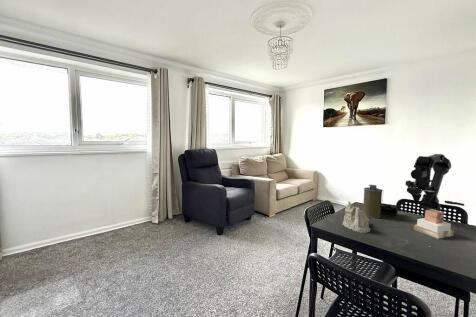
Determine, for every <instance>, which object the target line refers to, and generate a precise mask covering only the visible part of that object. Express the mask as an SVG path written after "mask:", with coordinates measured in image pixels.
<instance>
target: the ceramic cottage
mask: <svg viewBox="0 0 476 317" xmlns="http://www.w3.org/2000/svg"><path fill="white" fill-rule="evenodd" d="M369 222H370V219H369V217H367V216H366V215H365V213H364V211H363V209H362V210H361V209H360V207H356V206H354V205H353V204H352V203H351V200H350V201H348V202H347V204H346V207H345V209H344V216H343V221H342V226H343V225H344V226H345V228H346V227H347V228H346V229H349V230H351V229H352V230H351V231H355V232H356V231H357V232H356V233H361V234H366V233H370V231H371V228H370V227H369V226H370V223H369ZM344 226H343V227H344Z"/></svg>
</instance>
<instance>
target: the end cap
mask: <svg viewBox="0 0 476 317" xmlns="http://www.w3.org/2000/svg"><path fill="white" fill-rule="evenodd" d="M398 212H399V205H397V204H391V203H390V204H389V203H384V202H383V204H382V202H381V213H380V216H386V217H393V218H397V216H398Z"/></svg>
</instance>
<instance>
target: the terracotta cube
mask: <svg viewBox="0 0 476 317" xmlns="http://www.w3.org/2000/svg"><path fill="white" fill-rule="evenodd" d="M444 213H445V212H444V211H441V210H440V211H437V210H433V209H430V210H425V220H426V221H429V222H432V223H435V224H437V223H442V222H443V221H444Z"/></svg>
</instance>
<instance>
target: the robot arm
mask: <svg viewBox="0 0 476 317" xmlns="http://www.w3.org/2000/svg"><path fill="white" fill-rule="evenodd" d="M413 168H414V169H413V170H412V171H410V177H411V178H412V179H414V180H413V181H411V180H405V186H407V188H406V193H408V194H410V195H411V196H412V199H413V202H414V205H416V206H418V204H419V202H420V209H422V210H423V216H421V217H420V219H422V218H425V210H430V209H433V210H437V211H441V210H442V209H441V208H442V207H441V204H440V200H439V197H438V195H439V192H440V189H441V185H442V182H443V178H444V176H446V175H447V174H448V173H449V171H450V170H451V168H452V163H451V160H450V159H448V158H447V157H446V156H445V154H442V153H434V154H432V155H428V156H423V155H420V156H418V157H416V160H415V162H414V166H413ZM432 169H433V172H434V173H433V177H432V179H431V175H432V174H431V172H432ZM423 192H424V194H423V195H422V193H423Z"/></svg>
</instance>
